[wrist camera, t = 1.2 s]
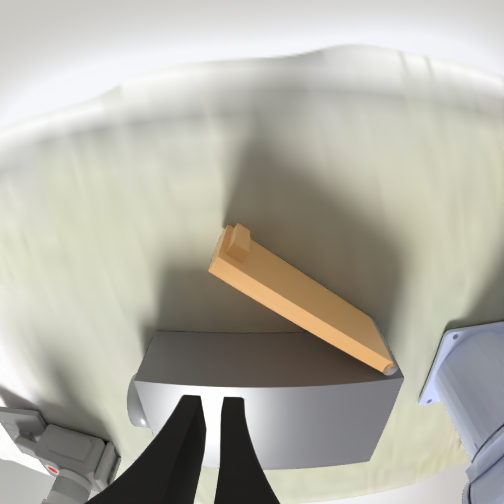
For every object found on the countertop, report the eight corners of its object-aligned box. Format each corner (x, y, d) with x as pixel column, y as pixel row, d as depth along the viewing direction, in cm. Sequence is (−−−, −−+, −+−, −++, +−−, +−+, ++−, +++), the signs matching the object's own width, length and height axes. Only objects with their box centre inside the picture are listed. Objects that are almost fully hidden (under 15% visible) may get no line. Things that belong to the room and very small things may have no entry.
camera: (102, 552, 18) (-6, 501, 18) (127, 470, 29) (29, 438, 29) (66, 524, 15) (-46, 461, 15) (106, 427, 26) (1, 393, 26)
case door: (383, 315, 20) (408, 359, 15) (368, 331, 20) (390, 377, 16) (233, 215, 17) (225, 245, 13) (219, 236, 18) (207, 272, 14)
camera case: (379, 328, 20) (404, 377, 16) (356, 414, 24) (369, 461, 19) (134, 329, 21) (108, 377, 16) (158, 414, 24) (144, 460, 19)
